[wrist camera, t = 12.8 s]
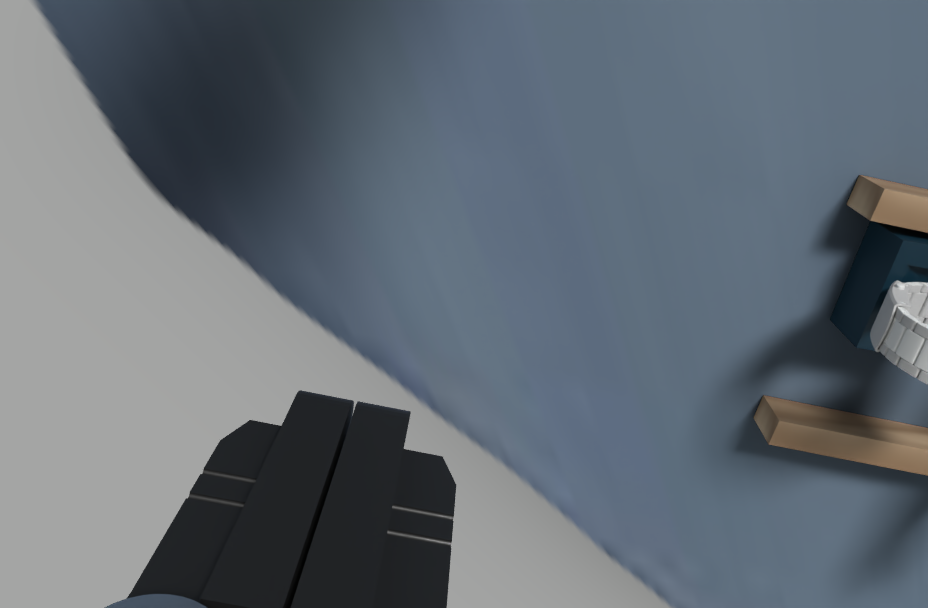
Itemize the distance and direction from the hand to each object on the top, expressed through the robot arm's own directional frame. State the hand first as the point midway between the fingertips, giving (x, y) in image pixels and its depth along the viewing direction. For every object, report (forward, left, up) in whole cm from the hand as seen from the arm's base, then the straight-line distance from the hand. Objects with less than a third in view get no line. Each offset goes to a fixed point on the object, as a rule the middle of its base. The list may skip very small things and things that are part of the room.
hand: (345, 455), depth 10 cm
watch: (+4, +23, -27) cm, 36 cm away
